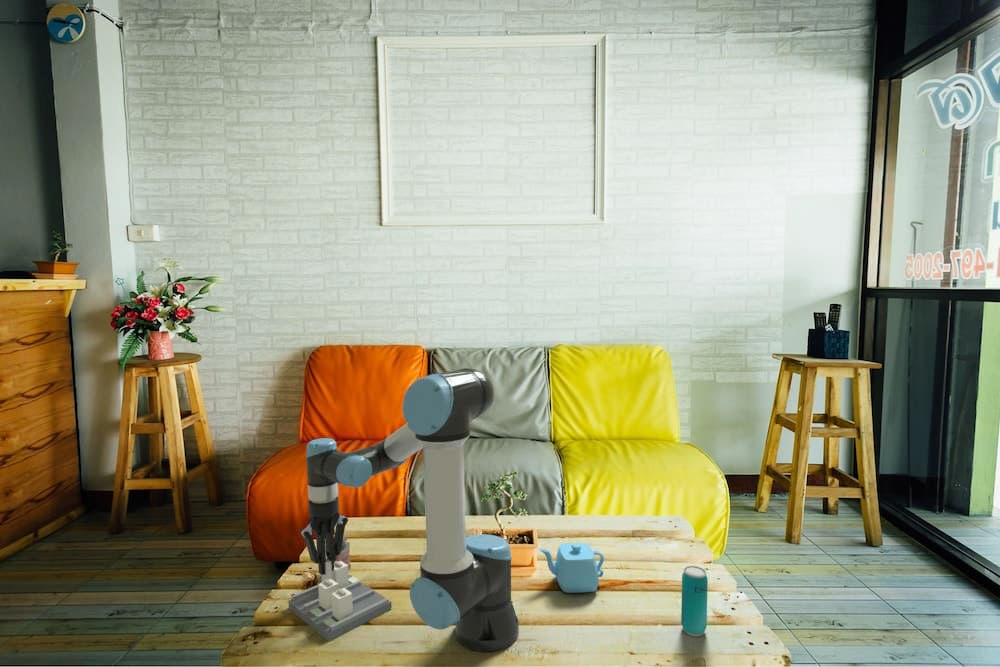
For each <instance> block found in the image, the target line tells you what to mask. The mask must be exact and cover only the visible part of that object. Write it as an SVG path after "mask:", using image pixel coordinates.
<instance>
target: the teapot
mask: <svg viewBox="0 0 1000 667" xmlns="http://www.w3.org/2000/svg"><path fill="white" fill-rule="evenodd" d="M538 550H539V551H540V552H541V553H543V554H544V555H545V558H546V562H547V566H548V569H549V571H550V572H551V574H553V575H554V576H555V578H556V581H557V584H558V586H559V587H560V590H562V592H563V593H567V594H572V593H591V592H593V593H594V592H596V591H597V590H598V588H599V578H602V577H603V575H604V570H603V569H602V566H603V563H604V561H605V557H604V554H603V553H602V552H601V551H599V550H593V549H592V547H591V546H590V545H589V543H587V542H570V543H569V542H568V543H565V542H564V543H560V544H559V546H558V549H557V553H556V558H555V561H554V560H553V557H552V553H551V551H549V550H548V549H546V548H538ZM595 555H598V556H599V557H600V558H599V561H598V564H597V561H596V557H595Z"/></svg>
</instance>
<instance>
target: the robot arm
mask: <svg viewBox="0 0 1000 667" xmlns="http://www.w3.org/2000/svg"><path fill="white" fill-rule="evenodd" d="M494 399H495V390H494V385H493V383H492V381H491V380H490V378H489V377H488V376H487V375H486V374H485V373H484V372H482V371H481V370H478V369H476V368H471V367H469V368H468V367H465V368H458V369H456V370H450V371H444V372H439V373H438V372H437V373H432V374H427V375H426V376H424V377H420V378H418V379H416V380H414V381H413V382H412V383H411V385H410V386H408V388H407V389H406V391H405V393H404V396H403V400H402V415H403V419H404V422H406V423H405V424H404V425H402V426H401V427H400V428H398V429H397V430H396V431H394V432H393V433H391V434H390V435H389V436H387V437H385V439H382V440H381V441H380V442H378V443H375V444H373V445H370V446H366V447H363V448H359V449H356V450H354V451H350V452H345V451H340V450H338V446H337V442H336V441H335V439H333V438H330V437H329V438H328V437H324V438H322V437H321V438H316V439H313V440H310V441H309V442H307V443H306V456H305V459H306V475H307V495H308V516H309V520H308V523H307V526H306V527H305V528H302V529H300V531H299V534H300V535H301V536H302V537H303V539H304V542H305V545H306V548H307V552H308V555H309V558H310V561H312V562H313V563H315V564H317V565H318V573H319V574H320V575H321V583H322V582H324V580H326V579H327V580H329V579H332V571H333V570H334V561H335V560H336V556H337V555H340V553H341V547H342V542H343V536H345V535H344V534H345V530H346V529H345V528H346V526H347V524H348V521H349V518H348V517H346V516H344V515H341V514H340V512H339V509H340V508H339V507H340V506H339V501H340V500H339V497H338V496H339V484H340V485H342V486H345V487H349V488H361V487H363V486H365V485H366V483H367V482H369V480H371V477H372V476H375V475H379V474H381V473H384V472H386V471H390V470H394V469H397V468H398V467H400V466H403V465H404V464H405V463H406V462H407V460H408V458H409V457H412V456H413V455H414V454H416V453H418V452H419V451H420V450H422V452H423V453H422V455H423V456H422V457H423V459H422V460H423V485H424V508H425V509H424V510H425V511H424V512H425V513H424V514H425V538H426V539H425V540H426V543H425V544H426V552H425V553H424V554H423V555H422V556H421V558H420V560H419V565H420V566H419V569H420V573H419V574H420V576H419V577H417V578H415V580H414V581H413V582H412V583H411V585H410V587H409V599H410V602H411V605H412V608H413V610H414V612H415V613H416V614H417V616H418V617H419V619H420V620H421V621H423V623H424V624H426V625H427V626H428V627H430V628H432V629H434V630H435V629H436V630H445V629H448V628H449V627H451V626H453V625H454V624H455V635H456V639H457V642H459V644H461V645H462V646H463V647H464V648H467V649H469V650H470V651H475V652H481V653H482V652H483V653H489V652H498V651H501V650H504V649H505V648H508V647H510V646H511V645H513V643H515V642H516V640H517V639H518V637H519V635H520V634H519V633H520V631H519V630H520V627H519V625H520V624H519V619H518V617H517V615H516V611H515V610H516V609H515V608H514V605H513V604H514V603H513V602H512V555H511V554H512V552H511V545H510V543H509V542H508V541H507V539H504V537H500V536H498V535H493V534H483V533H478V534H477V533H476V534H471V535H468V536H467V532H466V531H467V530H466V529H467V527H466V525H467V524H466V498H465V497H466V494H465V491H466V490H465V489H466V488H465V465H464V464H465V462H464V461H465V460H464V459H465V458H464V456H465V455H464V443H465V442H466V441H467V440H468V439H469V438H470V436H471V424H470V423H472V421H474V420H476V419H478V418H480V417H483V416H484V415H485V414H486V413H488V412H489V410H490V409H491V407H492V406H493V403H494ZM312 531H313V532H314V535H315V538H316V542H315V540H314V538H313V536H312V535H313V532H312Z"/></svg>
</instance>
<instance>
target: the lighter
mask: <svg viewBox="0 0 1000 667" xmlns="http://www.w3.org/2000/svg"><path fill="white" fill-rule="evenodd" d="M350 547H351V542H349V541H348V536H347V535H344V536H343V542H342V547H341V553H340V555H337V556H336V560H335V561H334V562H336V561H338V562H339V561H342V562H344V563H345V564H347V565H348V571H350V570H351V569H352V568H351V567H352V564H351V558H350V557H351V556H350Z"/></svg>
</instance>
